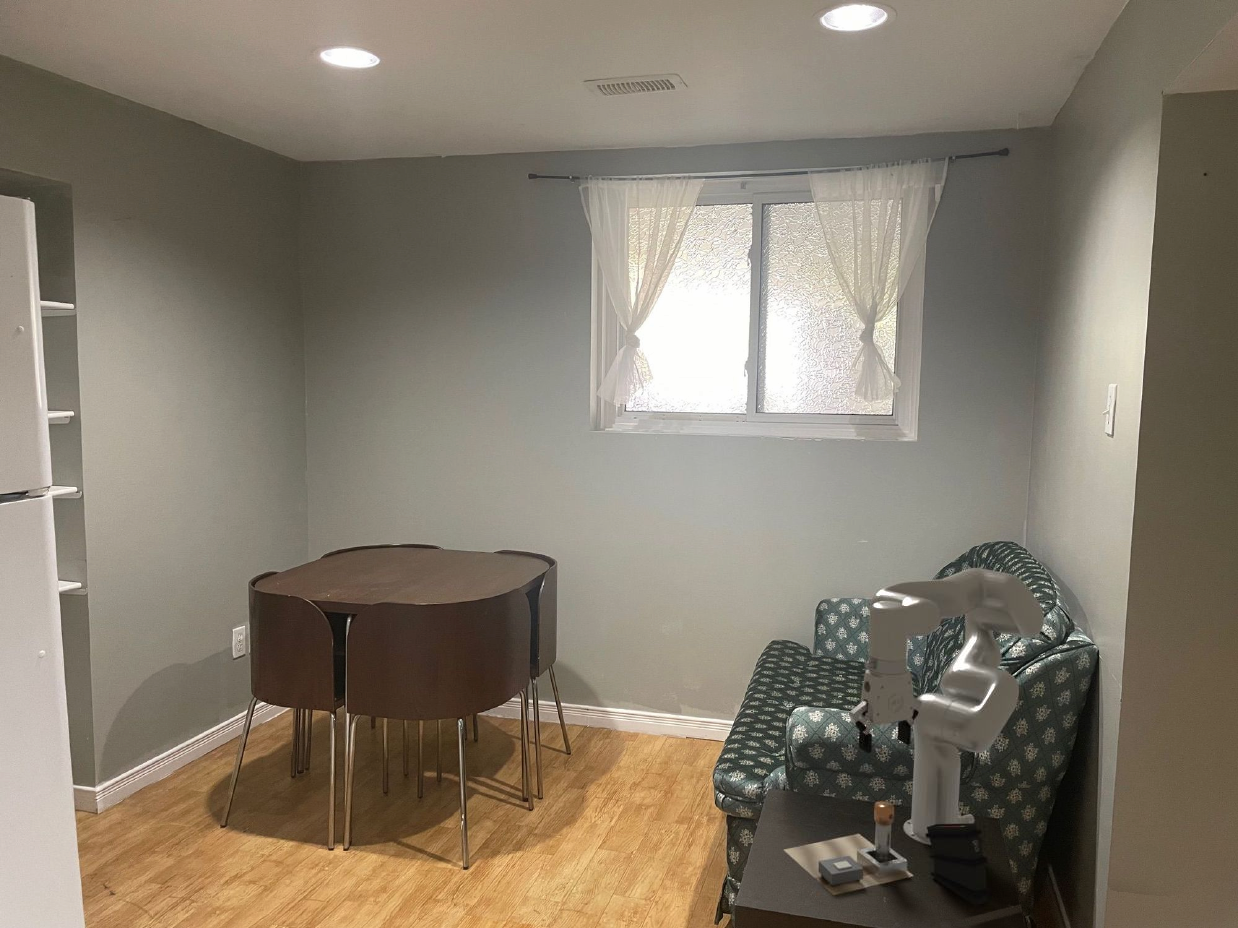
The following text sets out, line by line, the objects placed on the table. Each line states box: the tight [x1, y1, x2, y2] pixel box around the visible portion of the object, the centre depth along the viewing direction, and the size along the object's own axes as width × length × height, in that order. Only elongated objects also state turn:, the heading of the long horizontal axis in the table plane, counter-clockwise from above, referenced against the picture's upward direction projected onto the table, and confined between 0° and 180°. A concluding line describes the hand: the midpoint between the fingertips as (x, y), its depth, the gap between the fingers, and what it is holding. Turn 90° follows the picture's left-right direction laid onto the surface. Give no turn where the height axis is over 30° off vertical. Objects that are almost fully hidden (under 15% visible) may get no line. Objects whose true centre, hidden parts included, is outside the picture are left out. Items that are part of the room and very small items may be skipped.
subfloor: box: [783, 833, 914, 896], centre depth 193 cm, size 19×18×1 cm
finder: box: [818, 856, 863, 887], centre depth 187 cm, size 7×5×3 cm
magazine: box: [925, 822, 991, 906], centre depth 184 cm, size 4×13×15 cm, turn 27°
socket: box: [857, 845, 908, 879], centre depth 191 cm, size 7×7×2 cm
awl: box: [873, 800, 895, 863], centre depth 191 cm, size 4×4×13 cm
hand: (884, 746), depth 190 cm, fingers open, 9 cm apart
